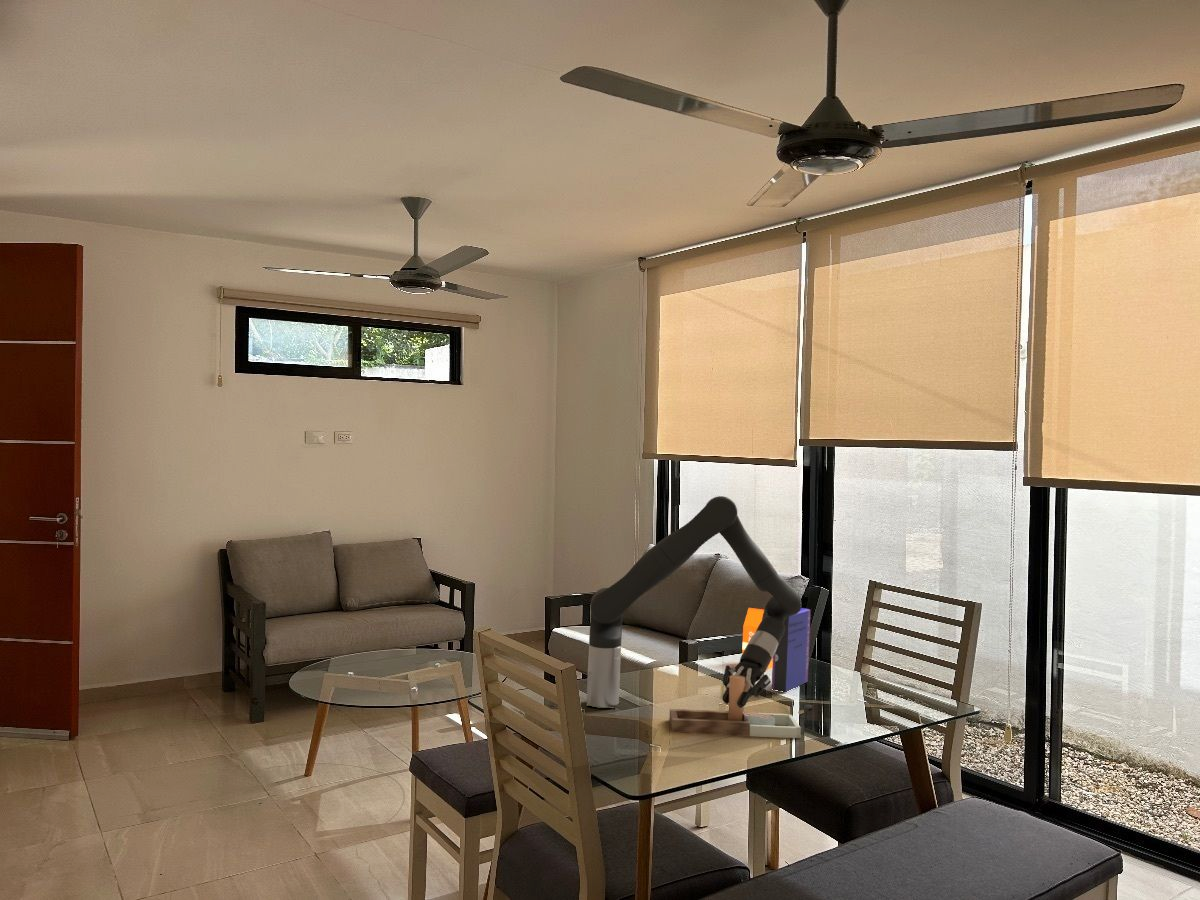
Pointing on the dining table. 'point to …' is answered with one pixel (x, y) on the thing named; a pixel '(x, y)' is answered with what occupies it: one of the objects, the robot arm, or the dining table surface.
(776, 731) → the tray
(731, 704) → the orange rounded cylinder
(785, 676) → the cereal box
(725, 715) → the slot board
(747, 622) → the orange juice
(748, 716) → the light grey cube
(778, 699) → the dining table surface
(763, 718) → the gray cube
